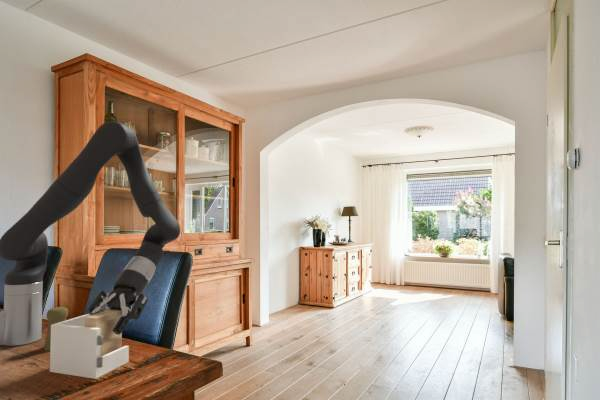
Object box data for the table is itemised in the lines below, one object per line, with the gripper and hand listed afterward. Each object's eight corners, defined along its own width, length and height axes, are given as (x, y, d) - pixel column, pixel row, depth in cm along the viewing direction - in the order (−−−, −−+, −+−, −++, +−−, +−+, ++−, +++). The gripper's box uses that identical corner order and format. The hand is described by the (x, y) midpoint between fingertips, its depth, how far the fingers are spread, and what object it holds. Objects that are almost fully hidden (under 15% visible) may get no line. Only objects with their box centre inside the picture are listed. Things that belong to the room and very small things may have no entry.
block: (110, 356, 96) (111, 309, 97) (121, 357, 95) (122, 310, 96) (83, 368, 89) (84, 317, 89) (95, 370, 87) (96, 318, 88)
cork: (57, 351, 103) (57, 310, 103) (38, 349, 104) (39, 309, 104) (74, 344, 109) (75, 305, 109) (56, 342, 110) (57, 304, 110)
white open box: (86, 356, 99) (86, 314, 100) (132, 362, 95) (132, 318, 95) (49, 371, 89) (50, 324, 90) (99, 379, 85) (100, 330, 85)
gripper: (107, 267, 103) (69, 321, 91) (151, 269, 98) (117, 325, 87) (121, 283, 107) (87, 336, 96) (164, 286, 103) (133, 341, 92)
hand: (101, 331), depth 91 cm, fingers open, 8 cm apart
